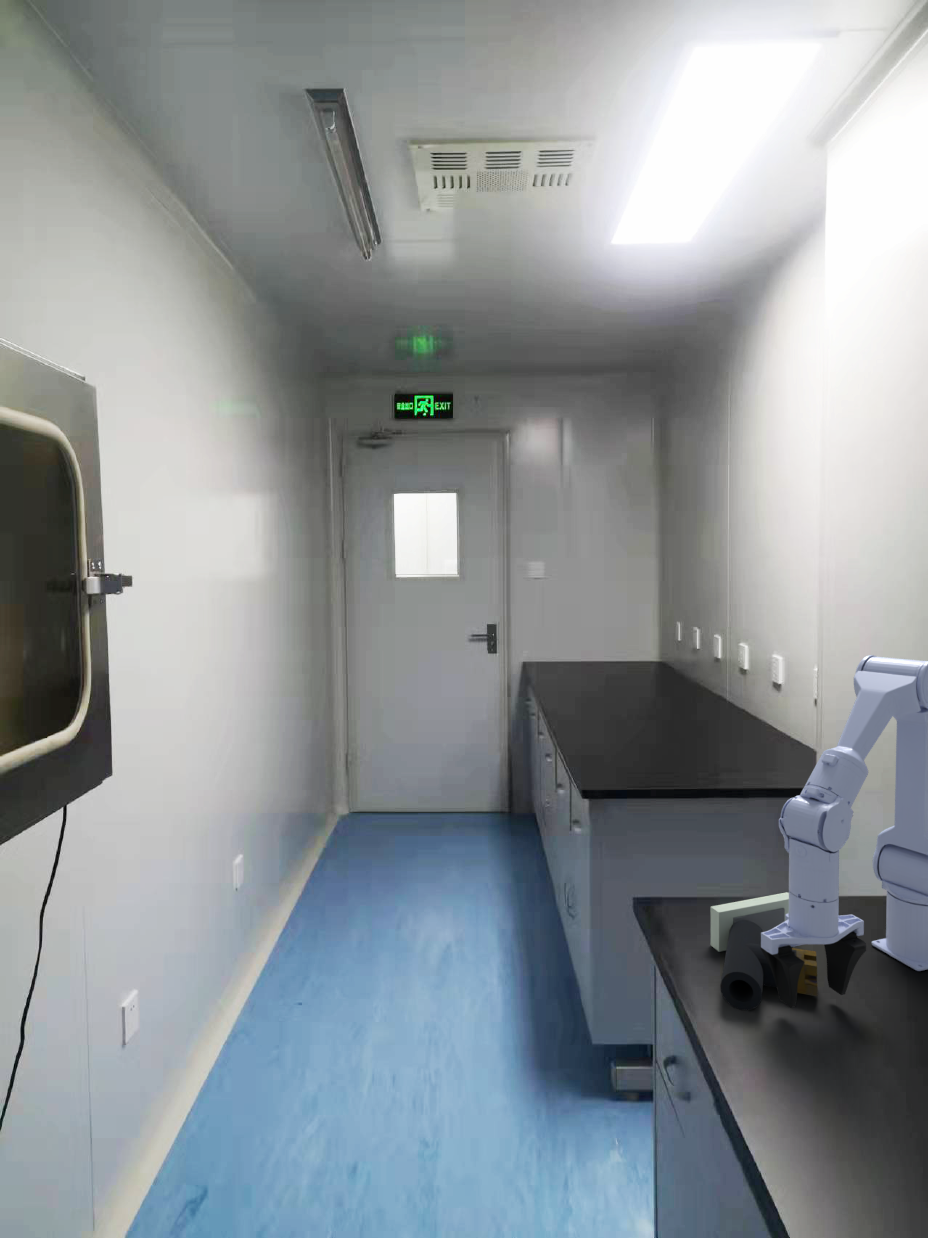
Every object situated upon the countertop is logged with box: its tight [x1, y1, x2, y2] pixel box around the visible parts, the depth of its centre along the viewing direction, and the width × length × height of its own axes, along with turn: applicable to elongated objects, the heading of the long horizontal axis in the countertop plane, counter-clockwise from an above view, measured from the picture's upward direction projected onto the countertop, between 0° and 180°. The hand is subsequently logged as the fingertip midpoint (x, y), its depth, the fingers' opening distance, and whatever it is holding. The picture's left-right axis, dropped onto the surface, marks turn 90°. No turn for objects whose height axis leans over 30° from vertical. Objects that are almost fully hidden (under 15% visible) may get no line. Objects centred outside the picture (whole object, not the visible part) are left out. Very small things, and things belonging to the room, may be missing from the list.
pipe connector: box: [720, 920, 819, 1011], centre depth 99 cm, size 12×5×15 cm
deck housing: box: [710, 891, 789, 953], centre depth 110 cm, size 14×2×6 cm, turn 107°
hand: (812, 996), depth 93 cm, fingers open, 7 cm apart
